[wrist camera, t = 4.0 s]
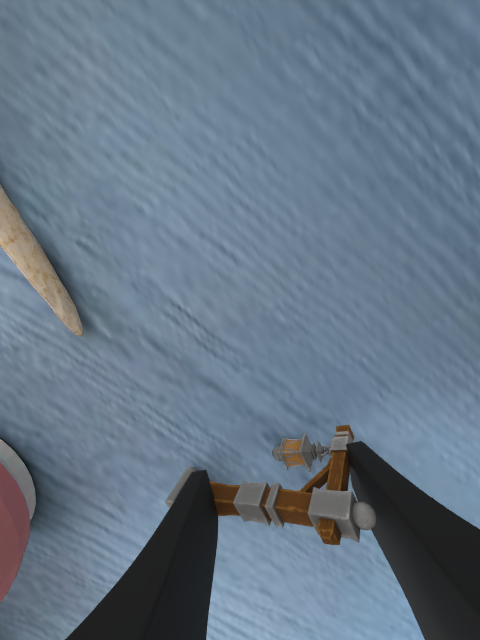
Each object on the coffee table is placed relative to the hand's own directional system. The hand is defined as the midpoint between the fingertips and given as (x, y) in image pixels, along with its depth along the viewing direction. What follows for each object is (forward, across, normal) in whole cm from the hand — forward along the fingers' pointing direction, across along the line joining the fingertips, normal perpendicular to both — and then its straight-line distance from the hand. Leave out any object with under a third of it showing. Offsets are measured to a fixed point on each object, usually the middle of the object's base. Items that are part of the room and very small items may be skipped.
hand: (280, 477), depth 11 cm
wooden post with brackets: (+2, +1, 0) cm, 2 cm away
